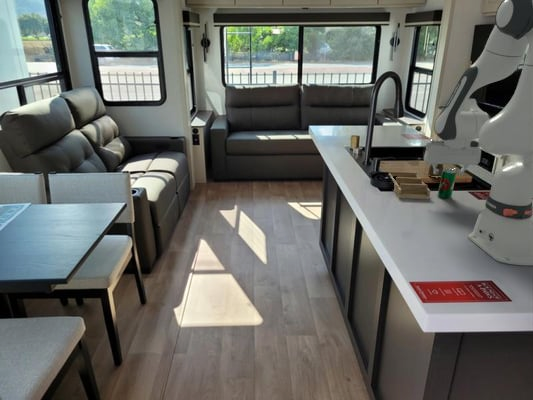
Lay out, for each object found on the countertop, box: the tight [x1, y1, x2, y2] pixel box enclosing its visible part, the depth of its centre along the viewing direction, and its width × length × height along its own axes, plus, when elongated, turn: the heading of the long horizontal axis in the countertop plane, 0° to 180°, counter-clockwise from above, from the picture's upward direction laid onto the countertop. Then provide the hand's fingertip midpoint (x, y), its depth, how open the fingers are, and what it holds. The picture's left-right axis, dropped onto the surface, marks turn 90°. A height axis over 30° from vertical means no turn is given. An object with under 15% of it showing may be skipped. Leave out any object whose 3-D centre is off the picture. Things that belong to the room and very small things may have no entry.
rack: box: [387, 170, 431, 200], centre depth 162 cm, size 20×12×5 cm, turn 176°
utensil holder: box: [428, 164, 444, 176], centre depth 176 cm, size 6×6×12 cm
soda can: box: [437, 166, 458, 200], centre depth 153 cm, size 5×5×12 cm
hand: (447, 174), depth 152 cm, fingers open, 8 cm apart
